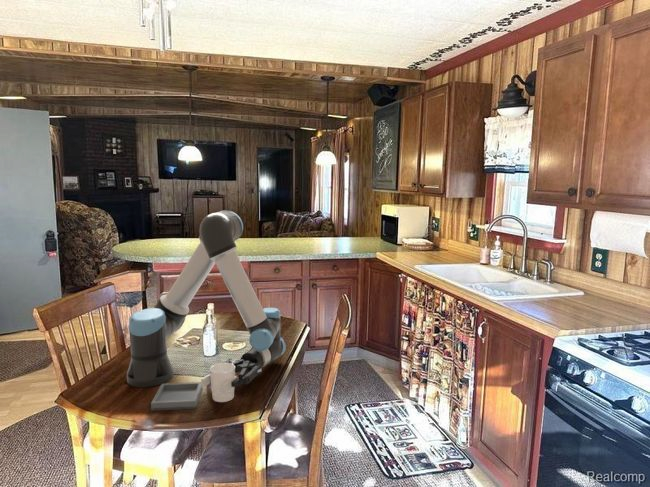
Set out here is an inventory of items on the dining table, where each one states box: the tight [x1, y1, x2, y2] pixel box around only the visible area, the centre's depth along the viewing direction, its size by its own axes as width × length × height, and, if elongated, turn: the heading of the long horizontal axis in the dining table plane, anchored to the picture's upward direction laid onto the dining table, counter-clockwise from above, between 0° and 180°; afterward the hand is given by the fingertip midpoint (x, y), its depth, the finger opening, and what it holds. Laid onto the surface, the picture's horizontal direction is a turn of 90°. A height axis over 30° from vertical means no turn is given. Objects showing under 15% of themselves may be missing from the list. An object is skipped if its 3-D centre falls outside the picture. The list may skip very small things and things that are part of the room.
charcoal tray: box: [150, 381, 204, 412], centre depth 142 cm, size 13×13×2 cm
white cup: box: [209, 362, 236, 403], centre depth 143 cm, size 8×8×10 cm
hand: (212, 385), depth 139 cm, fingers closed on white cup, 7 cm apart
